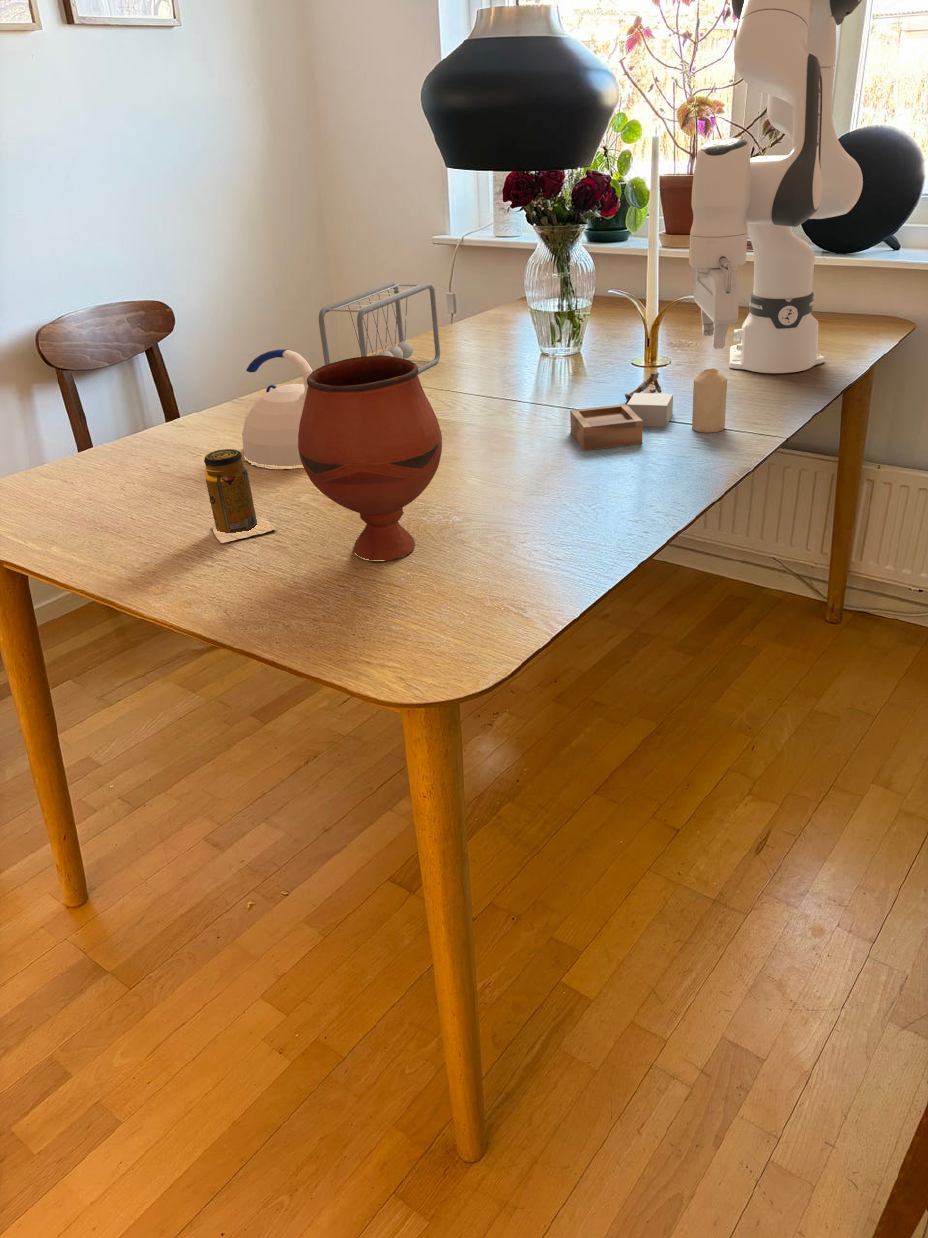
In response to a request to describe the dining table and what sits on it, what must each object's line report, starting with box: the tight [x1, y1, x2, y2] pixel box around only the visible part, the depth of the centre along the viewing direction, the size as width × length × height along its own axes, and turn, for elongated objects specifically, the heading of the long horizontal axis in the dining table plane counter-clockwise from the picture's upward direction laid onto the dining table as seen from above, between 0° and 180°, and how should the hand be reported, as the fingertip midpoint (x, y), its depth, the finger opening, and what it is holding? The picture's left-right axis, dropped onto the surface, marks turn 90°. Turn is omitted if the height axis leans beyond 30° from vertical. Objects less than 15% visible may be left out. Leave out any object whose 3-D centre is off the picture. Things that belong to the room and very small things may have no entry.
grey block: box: [626, 392, 674, 427], centre depth 176 cm, size 7×7×4 cm
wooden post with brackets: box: [624, 371, 663, 402], centre depth 187 cm, size 2×8×4 cm, turn 121°
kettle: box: [241, 349, 314, 466], centre depth 172 cm, size 20×21×18 cm
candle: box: [691, 368, 728, 434], centre depth 168 cm, size 6×6×10 cm
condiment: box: [203, 448, 257, 533], centre depth 143 cm, size 7×8×12 cm
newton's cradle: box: [318, 281, 441, 374], centre depth 210 cm, size 30×10×18 cm, turn 152°
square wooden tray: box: [569, 403, 644, 451], centre depth 169 cm, size 10×10×4 cm
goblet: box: [298, 354, 443, 561], centre depth 130 cm, size 19×19×25 cm
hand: (712, 340), depth 162 cm, fingers open, 8 cm apart
